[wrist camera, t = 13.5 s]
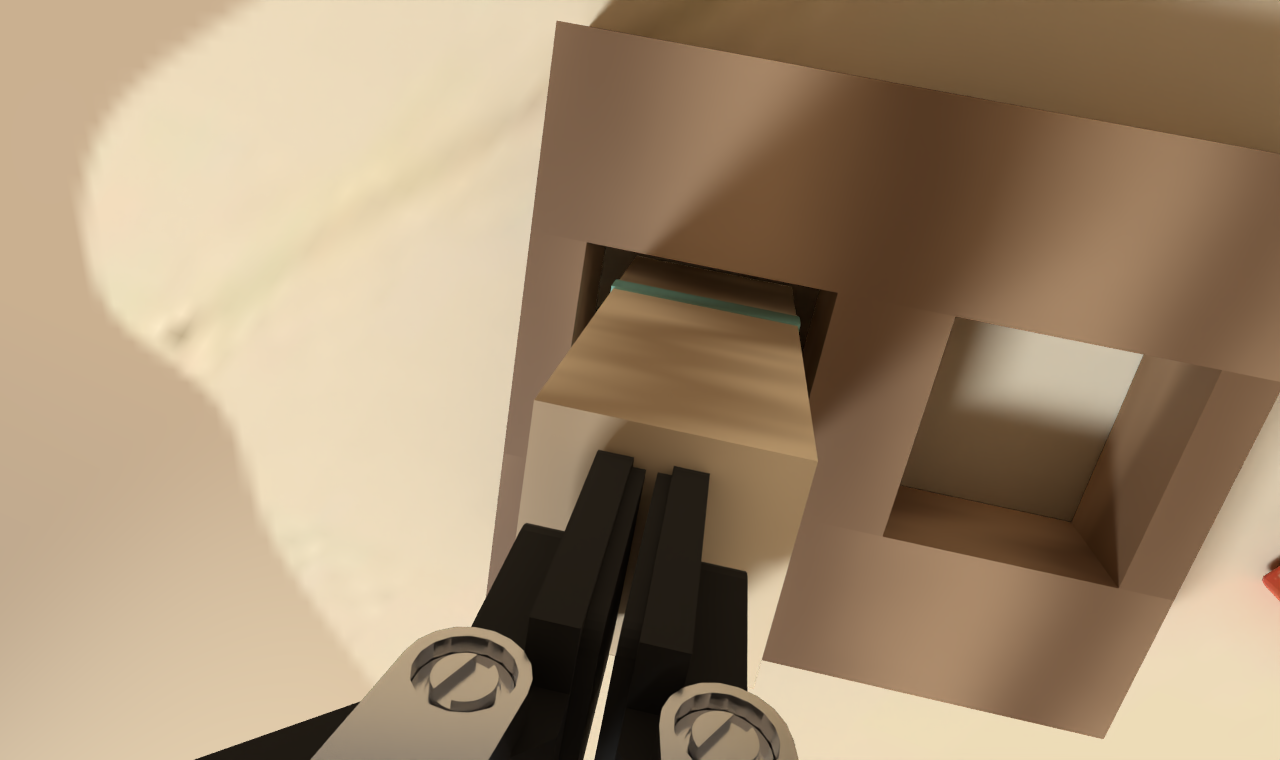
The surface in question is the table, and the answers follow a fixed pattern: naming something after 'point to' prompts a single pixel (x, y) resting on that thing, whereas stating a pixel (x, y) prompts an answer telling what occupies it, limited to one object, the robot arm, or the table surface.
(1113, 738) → the table surface
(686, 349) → the peg
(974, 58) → the table surface
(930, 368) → the peg board
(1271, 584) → the cracker box
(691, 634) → the robot arm
